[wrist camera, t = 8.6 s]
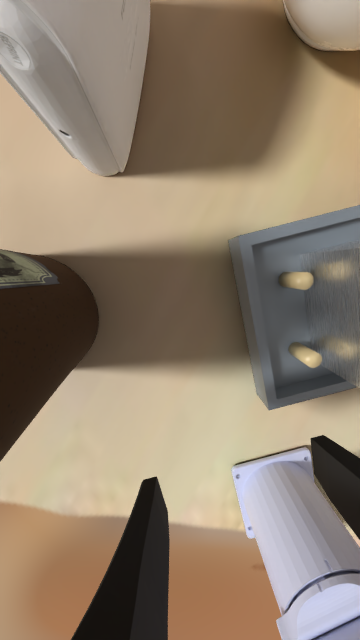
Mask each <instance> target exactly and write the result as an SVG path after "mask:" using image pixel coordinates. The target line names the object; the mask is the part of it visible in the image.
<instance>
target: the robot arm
mask: <svg viewBox="0 0 360 640" xmlns="http://www.w3.org/2000/svg"><path fill="white" fill-rule="evenodd" d="M311 447H312V456H313V465H314V474H315V476H316V477H317V479H318V481H319V482H320V484H321V486H322V487H323V489H324V491H325V492H326V494H327V495H328V497H329V499H330V500H331V502H332V503H333V504H334V506H335V507H336V508H337V510H338V511H339V513H340V514H341V515H342V517H343V518H344V519H345V521H346V522H347V523H348V525H349V526H350V527H351V529H352V530H353V531H354V533H355V534H356V535H357V537H358V538H359V539H360V458H359V457H357V456H355V455H354V454H352V453H351V452H349V451H348V450H346V449H344V448H343V447H341V446H340V445H338V444H337V443H335V442H334V441H332V440H330V439H329V438H327V437H326V436H324V435H322V436H318V437H314V438H311ZM231 471H232V475H233V479H234V484H235V488H236V492H237V496H238V500H239V505H240V509H241V513H242V517H243V521H244V526H245V530H246V534H247V536H248V537H249V538H256V540H257V544H258V546H259V549H260V552H261V555H262V558H263V561H264V564H265V567H266V570H267V573H268V576H269V579H270V582H271V585H272V588H273V590H274V594H275V597H276V600H277V603H278V606H279V608H280V612H281V615H282V617H280V618H278V619H277V620H276V622H277V626H278V629H279V632H280V635H281V638H282V640H360V547H359V546H358V544H357V543H356V542H355V540H354V539H353V537H352V536H351V534H350V533H349V532H348V530H347V529H346V527H345V526H344V524H343V523H342V522H341V520H340V519H339V517H338V516H337V514H336V513H335V512H334V510H333V509H332V507H331V506H330V504H329V503H328V502H327V500H326V499H325V497H324V496H323V494H322V493H321V492H320V490H319V489H318V487H317V486H316V484H315V482H314V475H313V467H312V460H311V453H310V451H309V449H308V448H306V447H303V448H299V449H296V450H292V451H288V452H284V453H280V454H277V455H273V456H269V457H265V458H262V459H258V460H254V461H250V462H246V463H243V464H239V465H235V466H233V467H232V469H231ZM238 474H239V475H238ZM168 527H169V525H168V511H167V508H166V504H165V501H164V498H163V495H162V492H161V488H160V485H159V482H158V479H157V477H153V478H149V479H145V480H143V482H142V484H141V487H140V490H139V493H138V496H137V499H136V501H135V504H134V507H133V510H132V512H131V515H130V518H129V520H128V523H127V525H126V528H125V530H124V533H123V535H122V538H121V540H120V542H119V545H118V547H117V549H116V551H115V554H114V556H113V558H112V561H111V563H110V565H109V567H108V570H107V572H106V574H105V576H104V578H103V580H102V582H101V584H100V586H99V588H98V590H97V592H96V594H95V596H94V598H93V600H92V602H91V604H90V606H89V608H88V610H87V611H86V613H85V615H84V617H83V619H82V621H81V622H80V624H79V626H78V628H77V630H76V632H75V633H74V635H73V637H72V639H71V640H168V622H167V621H168V580H169V528H168Z"/></svg>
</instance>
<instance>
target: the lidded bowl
mask: <svg viewBox="0 0 360 640" xmlns="http://www.w3.org/2000/svg"><path fill="white" fill-rule="evenodd" d="M282 1H283V5H284V10H285V13H286V16H287V19H288V21H289V23H290V25H291V27H292V29H293V30H294V31H295V33H296V34H297V35H298V37H299V38H300V39H301V40H302V41H303V42H305V43H306V44H308V45H309V46H311V47H313V48H315V49H318V50H322V51H338V50H340V51H357V50H360V0H282Z"/></svg>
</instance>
